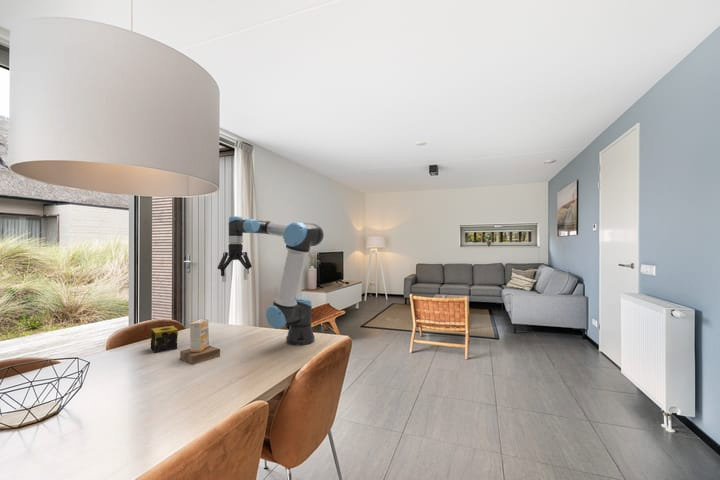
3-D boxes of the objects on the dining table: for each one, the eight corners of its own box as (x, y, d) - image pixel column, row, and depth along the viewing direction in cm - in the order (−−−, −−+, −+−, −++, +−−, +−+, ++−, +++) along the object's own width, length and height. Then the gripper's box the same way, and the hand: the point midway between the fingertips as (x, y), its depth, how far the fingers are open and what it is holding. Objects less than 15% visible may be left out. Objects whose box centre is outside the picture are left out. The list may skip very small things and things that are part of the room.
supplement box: (201, 352, 139) (200, 322, 139) (190, 352, 139) (189, 323, 139) (209, 346, 147) (208, 318, 148) (199, 346, 147) (198, 319, 148)
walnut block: (219, 357, 144) (219, 348, 144) (193, 365, 134) (193, 356, 135) (205, 352, 151) (205, 344, 151) (180, 359, 141) (180, 351, 141)
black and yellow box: (150, 348, 155) (150, 328, 156) (173, 344, 162) (173, 325, 162) (153, 353, 148) (154, 332, 148) (177, 349, 155) (178, 329, 155)
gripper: (250, 243, 189) (249, 278, 188) (210, 243, 168) (210, 282, 168) (258, 243, 185) (257, 279, 184) (218, 243, 164) (218, 283, 164)
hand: (235, 281), depth 176 cm, fingers open, 13 cm apart
